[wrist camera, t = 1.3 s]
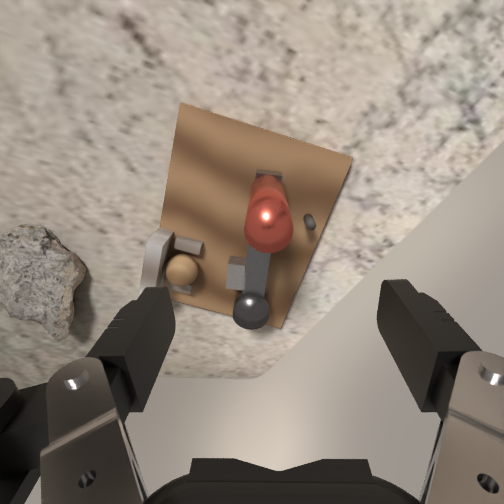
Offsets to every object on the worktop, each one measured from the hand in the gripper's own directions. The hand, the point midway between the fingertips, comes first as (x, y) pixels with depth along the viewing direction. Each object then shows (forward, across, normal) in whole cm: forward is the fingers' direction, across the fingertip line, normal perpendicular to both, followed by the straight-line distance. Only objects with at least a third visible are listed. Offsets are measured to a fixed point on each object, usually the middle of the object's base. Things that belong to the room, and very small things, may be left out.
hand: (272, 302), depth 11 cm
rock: (+22, +29, +11) cm, 38 cm away
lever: (+19, +2, +7) cm, 21 cm away
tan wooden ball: (+21, +10, +9) cm, 25 cm away
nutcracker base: (+22, +3, +6) cm, 23 cm away
